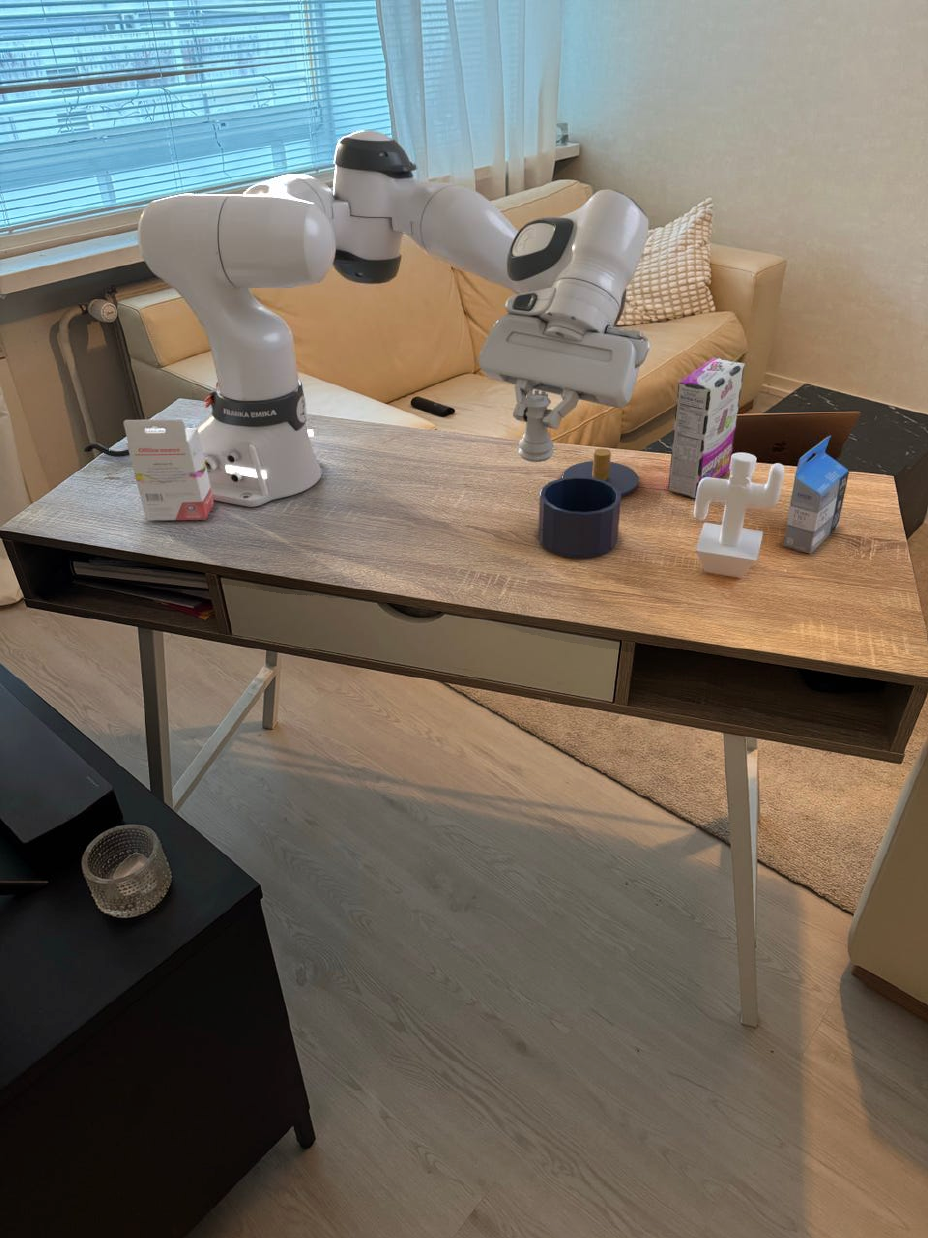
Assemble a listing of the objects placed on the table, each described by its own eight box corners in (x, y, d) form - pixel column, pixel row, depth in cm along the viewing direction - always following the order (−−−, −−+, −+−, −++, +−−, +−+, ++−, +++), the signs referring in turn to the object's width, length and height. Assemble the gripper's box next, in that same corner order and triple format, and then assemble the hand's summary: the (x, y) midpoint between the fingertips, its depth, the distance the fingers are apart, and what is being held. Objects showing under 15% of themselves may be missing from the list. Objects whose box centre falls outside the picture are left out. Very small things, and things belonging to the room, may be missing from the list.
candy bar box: (698, 462, 138) (713, 355, 129) (730, 471, 136) (747, 362, 126) (664, 491, 131) (677, 380, 121) (696, 500, 128) (712, 388, 119)
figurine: (691, 545, 118) (707, 437, 110) (767, 558, 116) (789, 448, 107) (682, 574, 113) (697, 463, 104) (761, 588, 110) (783, 474, 102)
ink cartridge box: (215, 503, 130) (195, 405, 122) (206, 520, 126) (185, 420, 118) (156, 504, 131) (132, 406, 122) (145, 521, 127) (119, 421, 118)
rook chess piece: (551, 464, 112) (553, 402, 108) (515, 461, 113) (516, 400, 109) (555, 448, 116) (558, 388, 111) (520, 446, 117) (521, 386, 112)
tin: (534, 555, 117) (535, 510, 114) (543, 517, 126) (545, 474, 122) (614, 562, 116) (618, 516, 112) (619, 522, 124) (622, 479, 120)
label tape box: (810, 555, 116) (830, 466, 109) (779, 545, 118) (797, 457, 111) (838, 528, 121) (859, 442, 114) (808, 518, 123) (827, 433, 116)
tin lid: (558, 499, 130) (559, 466, 127) (565, 465, 138) (567, 433, 135) (637, 504, 128) (640, 471, 125) (639, 469, 137) (642, 438, 134)
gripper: (661, 347, 110) (618, 452, 109) (516, 320, 120) (475, 416, 119) (648, 320, 105) (603, 430, 104) (497, 294, 114) (455, 394, 113)
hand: (534, 422), depth 112 cm, fingers closed on rook chess piece, 3 cm apart
